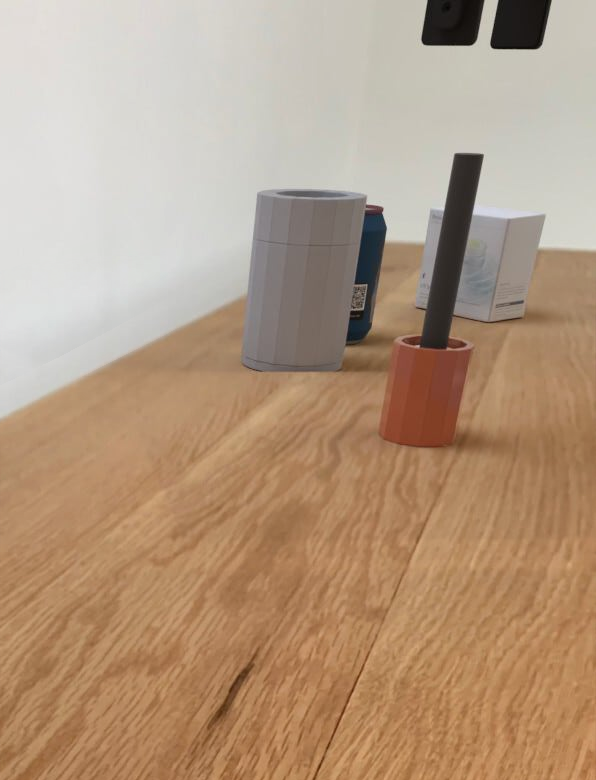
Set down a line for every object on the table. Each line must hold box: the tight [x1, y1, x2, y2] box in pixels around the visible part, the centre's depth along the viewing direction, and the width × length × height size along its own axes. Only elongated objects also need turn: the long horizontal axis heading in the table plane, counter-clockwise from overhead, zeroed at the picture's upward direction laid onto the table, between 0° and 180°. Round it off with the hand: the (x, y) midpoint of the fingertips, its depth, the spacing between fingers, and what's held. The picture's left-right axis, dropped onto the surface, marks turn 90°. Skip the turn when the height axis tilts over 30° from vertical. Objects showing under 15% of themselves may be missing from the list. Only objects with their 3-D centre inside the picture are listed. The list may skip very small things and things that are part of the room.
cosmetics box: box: [414, 204, 547, 323], centre depth 121 cm, size 10×6×10 cm, turn 33°
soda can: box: [345, 203, 388, 345], centre depth 108 cm, size 7×7×12 cm
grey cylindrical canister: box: [241, 188, 368, 373], centre depth 97 cm, size 9×9×14 cm
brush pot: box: [378, 334, 476, 448], centre depth 78 cm, size 5×5×7 cm
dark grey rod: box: [416, 152, 485, 349], centre depth 75 cm, size 3×3×18 cm
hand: (482, 47), depth 67 cm, fingers open, 9 cm apart
